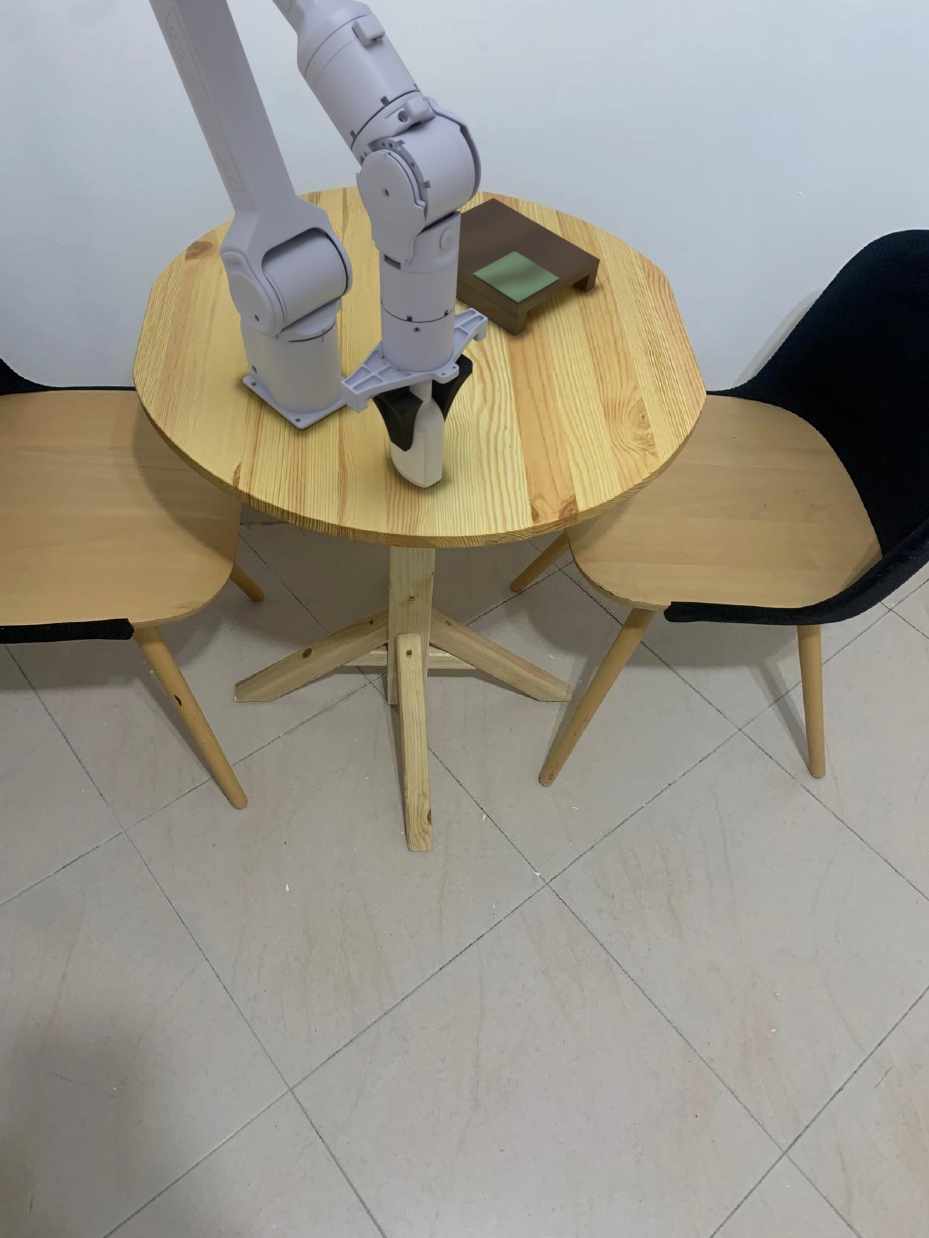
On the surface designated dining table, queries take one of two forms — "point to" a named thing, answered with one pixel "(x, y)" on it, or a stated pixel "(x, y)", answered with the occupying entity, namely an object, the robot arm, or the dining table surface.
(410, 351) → the robot arm
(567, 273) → the shelf
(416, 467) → the eye dropper bottle
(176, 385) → the dining table surface
